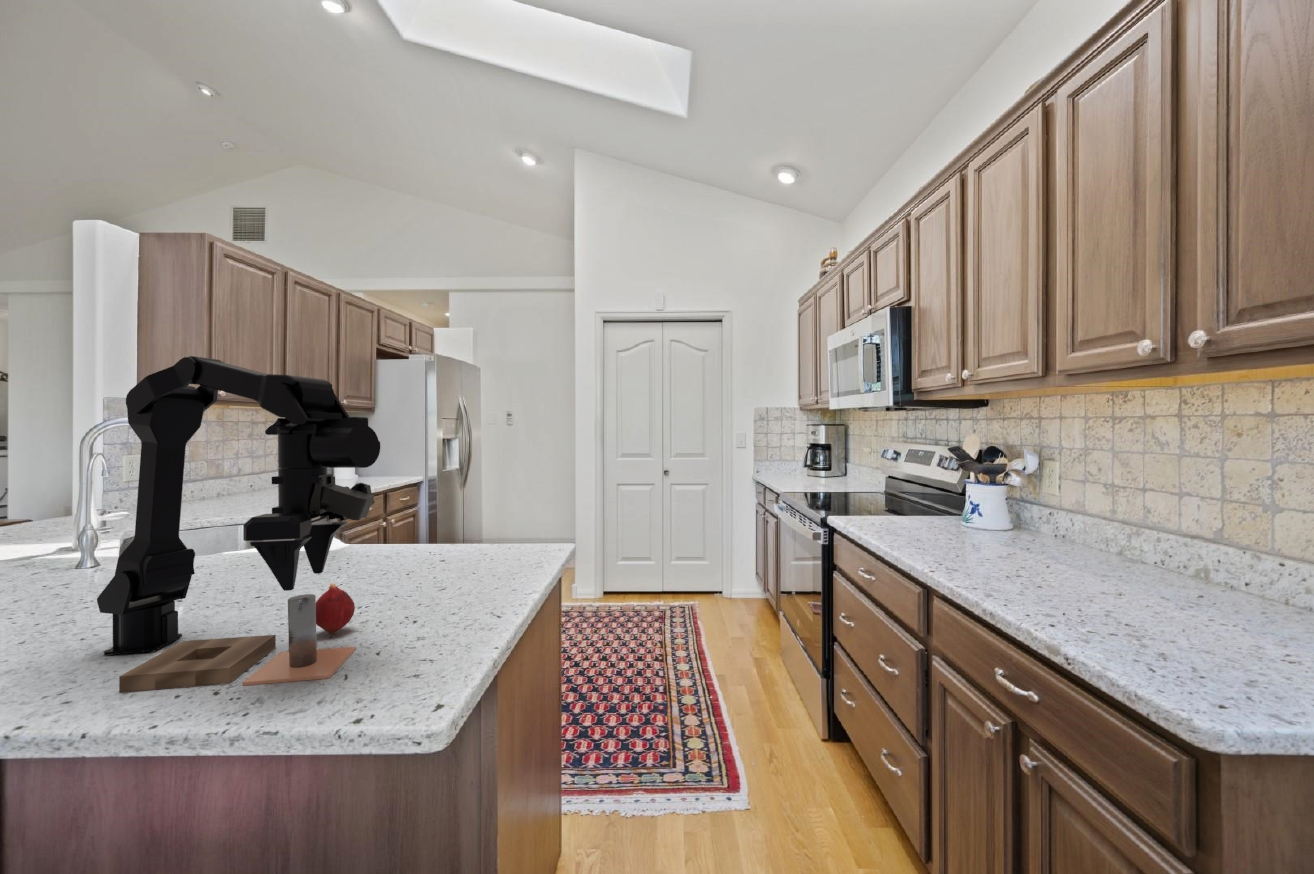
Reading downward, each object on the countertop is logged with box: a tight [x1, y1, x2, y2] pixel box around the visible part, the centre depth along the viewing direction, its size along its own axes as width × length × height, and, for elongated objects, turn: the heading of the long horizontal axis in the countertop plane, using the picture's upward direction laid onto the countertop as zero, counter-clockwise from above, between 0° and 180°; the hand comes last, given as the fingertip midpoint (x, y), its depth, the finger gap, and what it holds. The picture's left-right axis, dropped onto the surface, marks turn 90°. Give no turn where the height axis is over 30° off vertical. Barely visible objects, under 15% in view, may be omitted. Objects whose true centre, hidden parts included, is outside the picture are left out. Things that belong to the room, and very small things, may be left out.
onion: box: [316, 582, 356, 635], centre depth 88 cm, size 6×6×8 cm
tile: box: [242, 646, 357, 686], centre depth 75 cm, size 10×10×1 cm
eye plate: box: [118, 634, 277, 693], centre depth 74 cm, size 12×12×2 cm
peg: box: [287, 593, 318, 668], centre depth 75 cm, size 3×3×9 cm
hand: (304, 581), depth 75 cm, fingers open, 9 cm apart
